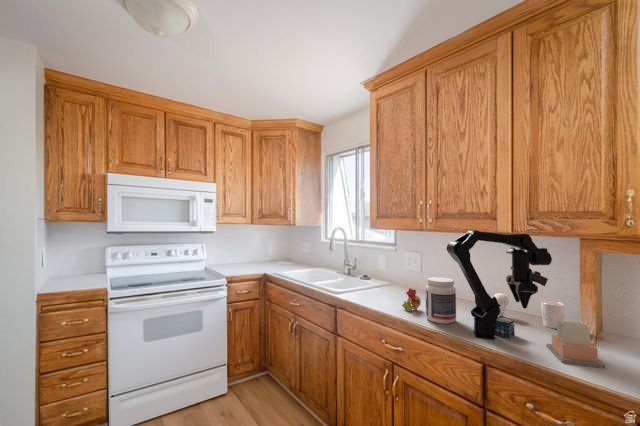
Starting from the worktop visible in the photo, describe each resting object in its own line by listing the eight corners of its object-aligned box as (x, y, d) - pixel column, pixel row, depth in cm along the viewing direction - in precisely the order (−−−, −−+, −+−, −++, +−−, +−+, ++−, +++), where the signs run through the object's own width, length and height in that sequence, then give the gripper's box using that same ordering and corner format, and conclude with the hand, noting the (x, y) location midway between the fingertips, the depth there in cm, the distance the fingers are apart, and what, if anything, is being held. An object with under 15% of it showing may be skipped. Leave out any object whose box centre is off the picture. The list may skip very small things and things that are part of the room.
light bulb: (495, 318, 138) (495, 294, 138) (490, 314, 144) (490, 291, 145) (511, 319, 136) (511, 295, 137) (506, 315, 143) (505, 291, 143)
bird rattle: (411, 312, 154) (397, 306, 151) (419, 291, 155) (405, 285, 153) (419, 316, 148) (404, 310, 145) (427, 294, 149) (412, 288, 147)
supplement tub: (462, 322, 132) (462, 280, 133) (442, 326, 127) (442, 283, 127) (439, 314, 144) (438, 275, 144) (419, 318, 138) (419, 278, 138)
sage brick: (563, 342, 98) (563, 325, 99) (557, 337, 103) (557, 321, 103) (589, 345, 96) (589, 328, 96) (582, 340, 100) (582, 323, 101)
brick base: (561, 362, 95) (561, 346, 95) (546, 346, 107) (546, 332, 107) (605, 368, 91) (605, 352, 91) (584, 351, 104) (583, 336, 104)
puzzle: (498, 331, 122) (497, 316, 122) (514, 335, 118) (514, 320, 118) (491, 334, 119) (491, 319, 119) (508, 339, 114) (508, 323, 114)
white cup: (565, 326, 128) (564, 302, 128) (564, 331, 122) (563, 306, 122) (542, 321, 133) (542, 299, 134) (540, 326, 127) (540, 303, 128)
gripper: (554, 270, 106) (555, 314, 106) (536, 263, 124) (537, 301, 123) (518, 268, 110) (518, 311, 110) (505, 261, 128) (506, 298, 127)
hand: (521, 305), depth 117 cm, fingers open, 9 cm apart
